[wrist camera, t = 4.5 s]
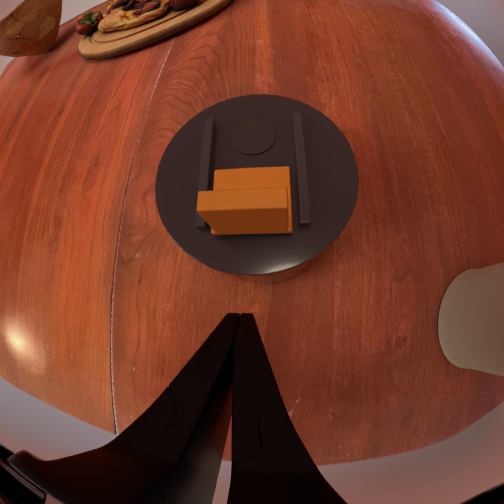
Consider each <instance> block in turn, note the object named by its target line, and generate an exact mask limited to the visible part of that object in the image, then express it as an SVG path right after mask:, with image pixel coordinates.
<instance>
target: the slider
mask: <svg viewBox="0 0 504 504" xmlns="http://www.w3.org/2000/svg"><path fill="white" fill-rule="evenodd" d="M197 212H198V213H199V214H200V215H201V216H202V218H203V219H204V220H205V221H206V222H207V223H208V224H209V225H210V227H211V233H212V234H213V235H230V234H269V233H292V209H291V187H290V169H289V166H285V167H256V168H238V169H223V170H215V173H214V188H213V191H200V192H198V200H197Z"/></svg>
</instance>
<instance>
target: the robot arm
mask: <svg viewBox="0 0 504 504" xmlns="http://www.w3.org/2000/svg"><path fill="white" fill-rule="evenodd" d="M231 415H232V468H231V469H232V470H231V482H230V489H229V495H228V501H227V504H347V503H346V502H345V501H344V500H343V499H342V498H341V496H339V494H338V493H337V492H336V491H335V490H334V489H333V488H332V487H331V485H330V484H329V483H328V482H327V481H326V480H325V478H324V477H323V476H322V474H321V473H320V471H319V470H318V468H317V467H316V465H315V463H314V462H313V460H312V458H311V456H310V455H309V453H308V451H307V450H306V448H305V446H304V444H303V443H302V441H301V439H300V437H299V435H298V434H297V432H296V430H295V428H294V426H293V424H292V422H291V420H290V417H289V415H288V413H287V410H286V408H285V405H284V402H283V399H282V396H280V391H279V388H278V385H277V383H276V380H275V377H274V374H273V371H272V368H271V365H270V362H269V360H268V357H267V354H266V351H265V348H264V345H263V342H262V339H261V336H260V333H259V330H258V327H257V324H256V321H255V318H254V315H253V314H252V313H242V314H241V315H240V314H239V313H228V314H227V315H226V316H225V317H224V318H223V319H222V321H221V322H220V323H219V324H218V326H217V327H216V328H215V329H214V331H213V332H212V333H211V334H210V336H209V337H208V338H207V339H206V340H205V342H204V343H203V344H202V345H201V347H200V348H199V349H198V350H197V352H196V353H195V354H194V355H193V356H192V358H191V359H190V360H189V361H188V362H187V364H186V365H185V366H184V367H183V369H182V370H181V371H180V372H179V373H178V375H177V376H176V377H175V378H174V379H173V381H172V382H171V383H170V384H169V387H167V388H166V389H165V390H164V391H163V392H162V394H161V395H160V396H159V397H158V398H157V399H156V400H155V401H154V403H153V404H152V405H151V406H150V407H149V408H148V409H147V410H146V411H145V412H144V413H143V414H142V415H141V416H140V417H138V418H137V419H136V420H135V421H134V422H133V423H132V424H131V425H130V426H128V427H127V428H126V429H125V430H124V431H123V432H122V433H121V434H120V435H118V436H117V437H116V438H115V439H114V440H112V441H111V442H109V443H108V444H106V445H104V446H102V447H100V448H97V449H94V450H91V451H87V452H84V453H80V454H76V455H73V456H69V457H64V458H61V459H56V460H50V461H45V460H43V459H41V458H39V457H37V456H36V455H34V454H32V453H30V452H28V451H26V450H22V451H19V452H17V453H15V452H13V451H12V450H10V449H8V448H7V447H5V446H4V445H2V444H1V443H0V504H212V500H213V496H214V492H215V487H216V483H217V478H218V474H219V469H220V465H221V461H222V456H223V452H224V447H225V443H226V438H227V434H228V429H229V424H230V420H231ZM460 504H504V483H502V484H500V485H497V486H495V487H492V488H490V489H488V490H486V491H484V492H482V493H481V494H478V495H476V496H474V497H472V498H470V499H468V500H466V501H464V502H462V503H460Z"/></svg>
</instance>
